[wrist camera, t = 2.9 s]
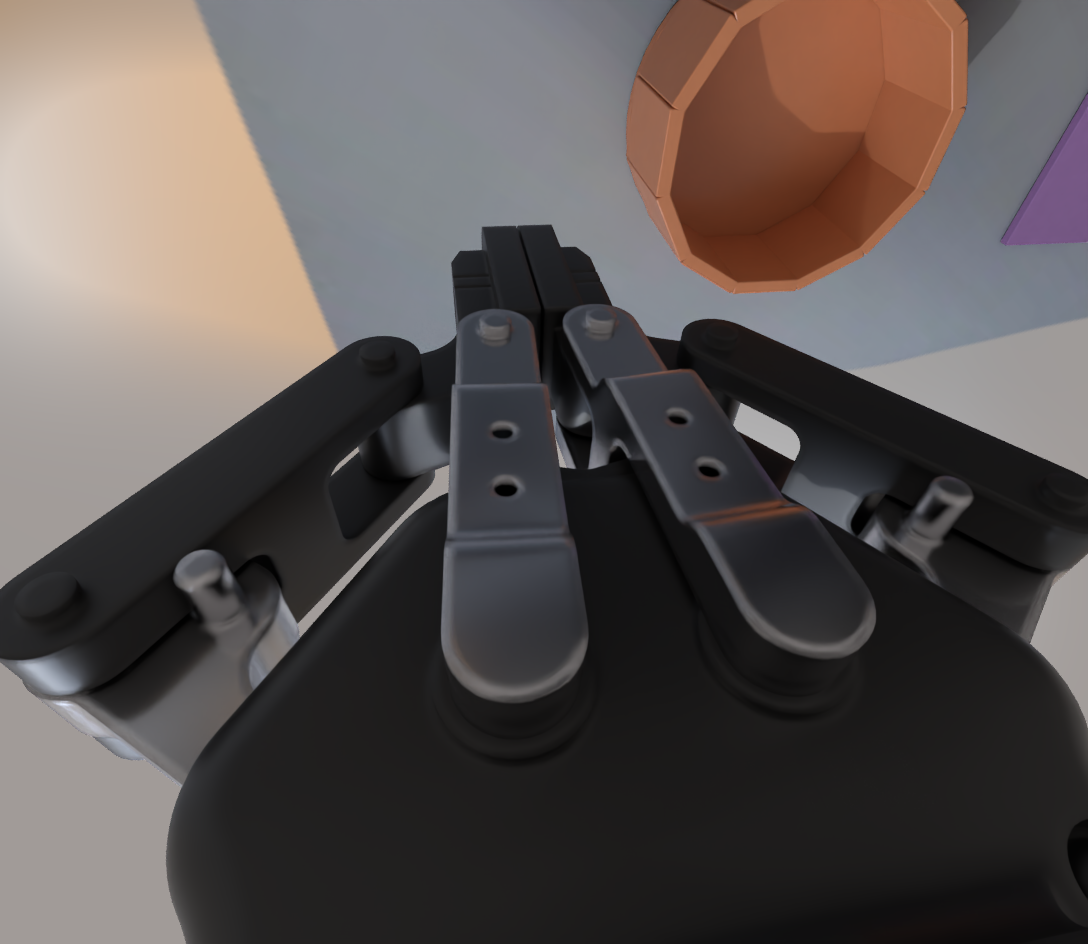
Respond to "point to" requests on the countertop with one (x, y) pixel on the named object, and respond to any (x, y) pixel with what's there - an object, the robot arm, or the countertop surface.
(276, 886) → the robot arm
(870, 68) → the pan
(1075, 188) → the towel
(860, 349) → the countertop surface
